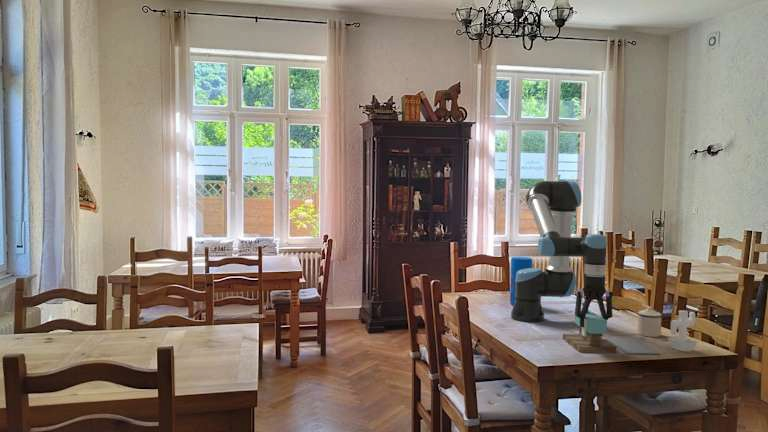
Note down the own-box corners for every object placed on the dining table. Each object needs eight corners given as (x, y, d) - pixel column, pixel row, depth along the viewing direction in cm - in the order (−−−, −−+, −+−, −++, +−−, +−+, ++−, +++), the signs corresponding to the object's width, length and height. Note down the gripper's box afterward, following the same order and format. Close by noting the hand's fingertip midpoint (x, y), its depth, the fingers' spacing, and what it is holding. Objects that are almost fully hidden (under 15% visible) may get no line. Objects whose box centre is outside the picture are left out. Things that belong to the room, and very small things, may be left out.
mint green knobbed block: (574, 322, 214) (575, 310, 213) (589, 323, 214) (590, 310, 213) (590, 333, 198) (590, 320, 197) (606, 333, 198) (606, 320, 197)
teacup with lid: (666, 337, 220) (667, 309, 220) (645, 337, 219) (646, 309, 219) (648, 329, 232) (649, 303, 232) (628, 330, 231) (629, 303, 231)
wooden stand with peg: (562, 338, 216) (563, 300, 215) (597, 339, 216) (598, 300, 215) (578, 351, 198) (580, 310, 197) (616, 352, 198) (617, 310, 197)
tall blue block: (533, 305, 281) (535, 257, 280) (527, 308, 272) (528, 259, 271) (513, 302, 287) (514, 256, 286) (506, 305, 278) (508, 258, 277)
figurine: (664, 347, 205) (665, 308, 205) (685, 346, 207) (687, 308, 206) (677, 353, 198) (679, 313, 198) (699, 351, 200) (701, 312, 199)
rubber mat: (604, 339, 216) (604, 337, 216) (634, 339, 216) (634, 338, 216) (627, 354, 196) (627, 352, 196) (659, 354, 196) (659, 353, 196)
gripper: (573, 276, 198) (571, 338, 199) (624, 277, 198) (622, 338, 199) (566, 273, 205) (564, 332, 206) (615, 274, 205) (613, 333, 206)
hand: (592, 335), depth 203 cm, fingers closed on mint green knobbed block, 6 cm apart
